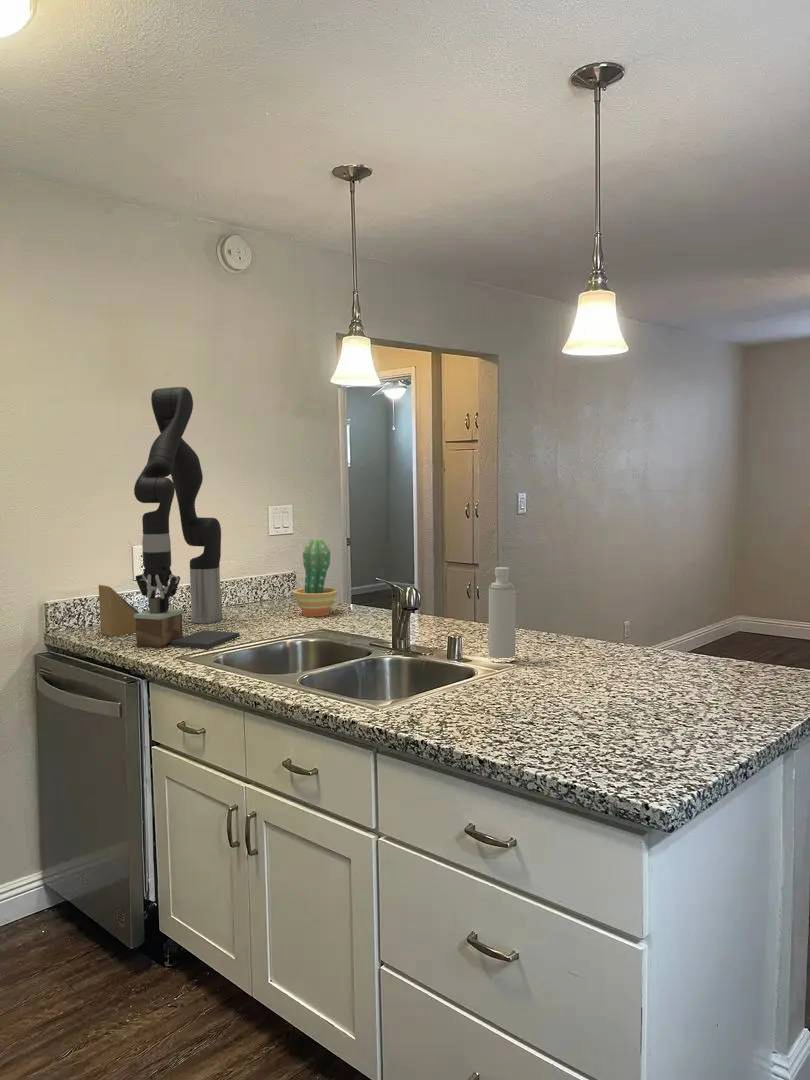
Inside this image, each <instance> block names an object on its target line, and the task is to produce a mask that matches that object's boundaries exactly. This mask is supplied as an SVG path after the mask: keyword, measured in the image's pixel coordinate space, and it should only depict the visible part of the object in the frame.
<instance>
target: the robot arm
mask: <svg viewBox="0 0 810 1080" xmlns="http://www.w3.org/2000/svg"><path fill="white" fill-rule="evenodd" d="M150 398H151V399H150V401H151V402H150V403H151V409H152V412H153V415H154V418H155V421H156V423H157V428H158V430H159V433H160V434H159V435H158V436H157V437H156V438H155V440H154V441H153V443H152V444H151V447H150V451H149V455H148V458H147V463H146V465H145V467H144V468H143V470H142V471H141V473H140V475H139V476H138V478H137V479H136V481H135V483H134V488H133V492H134V493H133V495H134V497H135V499H136V500H137V501H138V502H140V503H142V504H159V505H158V507H157V509H156V510H153V511H152V510H151V511H148V512H145V513H143V515H142V517H141V518H142V519H141V521H142V524H141V525H142V541H141V542H142V543H141V547H142V565H143V568H144V570H143V573H142V574H139V575H135V577H134V578H135V580H136V583H137V586H138V588H139V591H140V593H141V596H145V597H146V598H147V601H148V603H149V599H151V598H155V597H157V592H158V591H159V594H160V595H159V596H161V598H162V599H161V612H167V611H168V609H170V600H169V599H170V598H171V597H174V596H175V595H176V593H177V590H178V586H179V584H180V580H181V576H179V575H177V576H176V575H174V574H173V572H172V571H171V567H172V549H171V537H170V515H171V509H172V504H173V501H174V497H175V495H176V499H177V500H176V501H177V504H178V510H179V517H180V524H181V530H182V536H183V539H184V541H185V543H186V544H187V545H188V546H189V547H203V552H202V553H201V554H200V555H199V556H196V557H193V558H191V559H189V577H190V578H189V579H190V582H189V585H190V588H189V589H190V613H191V623H194V624H211V623H212V624H213V623H214V624H215V623H219V622H220V621H222V620H223V595H222V593H223V591H222V590H221V574H220V573H221V570H220V569H221V568H220V566H221V565H220V562H221V556H222V555H221V554H222V547H221V546H222V528H221V523H220V521H219V520H218V518H215V517H198V515H197V513H196V512H197V511H196V499H197V496H198V494H199V492H200V489H201V486H202V484H203V479H204V478H203V477H204V476H203V471H202V467H201V462H200V459H199V458H200V457H199V456H198V455H197V453H196V451H194V449H193V448H192V447H191V446H190V445H189V444H188V443H187V442H186V441H185V440H184V438H183V435H184V433H185V431H186V428H187V426H188V424H189V421H190V420H191V416H192V413H193V409H194V400H193V395H192V393H191V391H190V390H189V389H188V388H187V387H185V386H176V387H164V388H156V389H154V390H153V391H152V392H151V397H150ZM169 476H170V477H171V479H170V478H169ZM157 590H158V591H157Z"/></svg>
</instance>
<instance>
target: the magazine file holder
mask: <svg viewBox="0 0 810 1080" xmlns="http://www.w3.org/2000/svg"><path fill="white" fill-rule="evenodd" d="M98 603H99V605H98V606H99V624H100V634H101V633H102V634H101V635H103V634H105V635H104V636H106V635H108V636H107V637H109V636H111V637H110V638H115V637H114V636H119V637H121V636H120V635H126V634H133V633H136V618H134V614H137V613H140V612H139V611H138V609H136V608H135V607H134V606H132V605H131V604H130V603H129V602H128V601H127V600H126V599H125V598H123V597H122V596H121V595H120V594H119V593H118V592H117V591H116V590H115V589H113V588H112V587H111V586H110V585H109V586H108V585H104V584H98ZM133 635H134V634H133ZM126 636H127V635H126Z"/></svg>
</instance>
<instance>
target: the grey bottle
mask: <svg viewBox="0 0 810 1080" xmlns="http://www.w3.org/2000/svg"><path fill="white" fill-rule="evenodd" d="M494 576H495V582H491V584H490V585H488V657H489V656H490V657H493V658H510V657H513V656H515V657H516V615H517V614H516V608H517V607H516V606H517V605H516V603H517V602H516V599H517V598H516V595H517V593H516V585H514V583H513V582H509V576H510V568H509V567H506V566H498V567H495V568H494Z"/></svg>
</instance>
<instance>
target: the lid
mask: <svg viewBox="0 0 810 1080" xmlns="http://www.w3.org/2000/svg"><path fill="white" fill-rule="evenodd" d="M161 599H162V598H161V596H160V595H159V596H155V598H151V599H149V602H148V610H146V611H142V612H139V613H137V614H134V618H141V619H156V620H161V619H165V618H168V617H172V616H175V615H179V614H182V615H183V614H184V609H178V608H176V609H175V608H169V609H168V611H167V612H161Z"/></svg>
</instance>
